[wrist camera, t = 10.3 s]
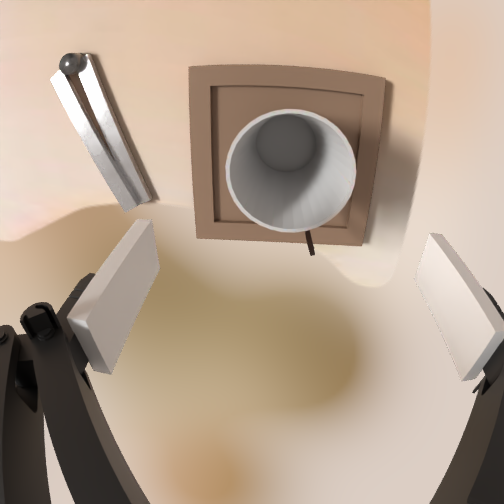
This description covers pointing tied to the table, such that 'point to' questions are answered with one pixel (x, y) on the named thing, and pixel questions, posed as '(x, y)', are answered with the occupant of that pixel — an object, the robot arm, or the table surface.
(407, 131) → the table surface
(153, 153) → the table surface
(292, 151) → the coffee mug
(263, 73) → the tray
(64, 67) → the tongs
